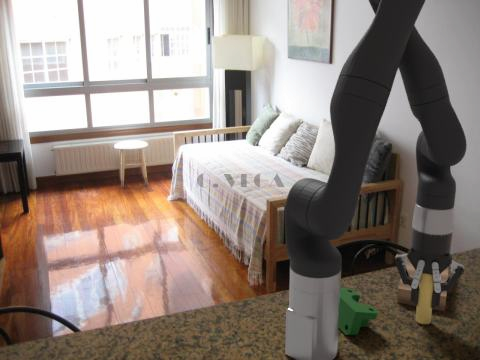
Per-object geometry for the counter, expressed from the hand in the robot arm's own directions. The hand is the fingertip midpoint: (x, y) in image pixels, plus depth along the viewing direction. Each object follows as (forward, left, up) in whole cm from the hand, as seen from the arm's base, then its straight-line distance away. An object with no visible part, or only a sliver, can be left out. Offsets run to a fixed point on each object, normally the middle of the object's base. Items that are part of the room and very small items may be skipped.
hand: (424, 304), depth 107 cm
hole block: (+14, +6, -4) cm, 16 cm away
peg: (0, 0, -4) cm, 4 cm away
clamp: (-10, +11, -4) cm, 16 cm away
